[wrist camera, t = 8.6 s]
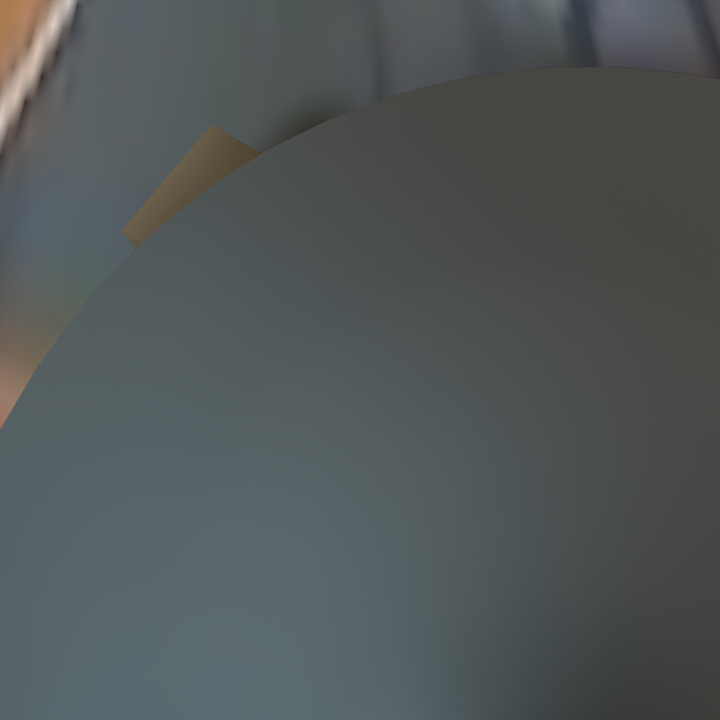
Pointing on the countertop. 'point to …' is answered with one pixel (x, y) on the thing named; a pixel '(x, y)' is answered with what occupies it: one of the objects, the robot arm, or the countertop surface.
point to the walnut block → (189, 181)
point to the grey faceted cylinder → (393, 427)
